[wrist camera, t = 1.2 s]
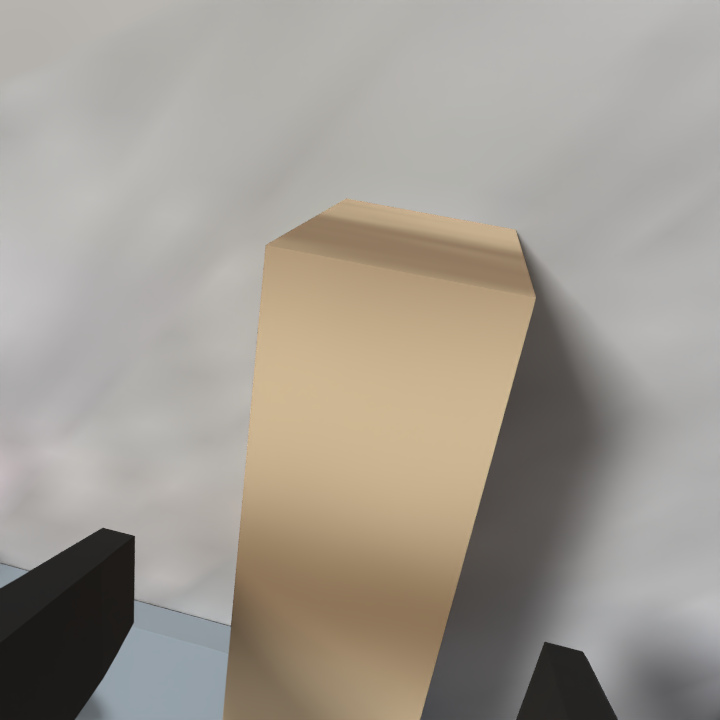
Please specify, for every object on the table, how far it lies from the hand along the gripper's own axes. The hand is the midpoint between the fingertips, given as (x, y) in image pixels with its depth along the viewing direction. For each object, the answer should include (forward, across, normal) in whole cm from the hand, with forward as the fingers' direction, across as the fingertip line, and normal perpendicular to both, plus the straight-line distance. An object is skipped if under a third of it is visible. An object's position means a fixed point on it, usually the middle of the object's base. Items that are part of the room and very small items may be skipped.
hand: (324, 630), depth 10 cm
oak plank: (+7, 0, 0) cm, 7 cm away
